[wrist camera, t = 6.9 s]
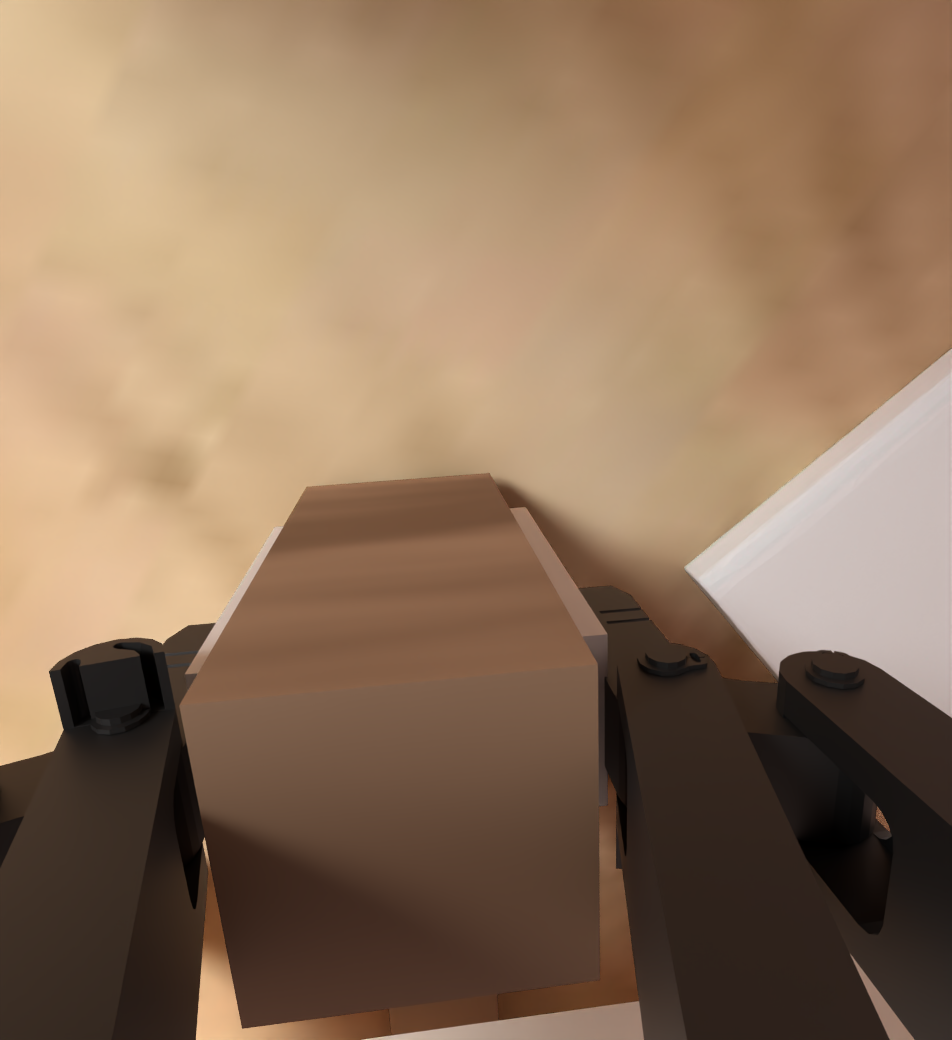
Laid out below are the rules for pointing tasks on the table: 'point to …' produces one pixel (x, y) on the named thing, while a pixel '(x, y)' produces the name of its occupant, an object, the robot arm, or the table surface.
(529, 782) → the walnut paddle
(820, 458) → the external hard drive
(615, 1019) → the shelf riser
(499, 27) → the table surface
